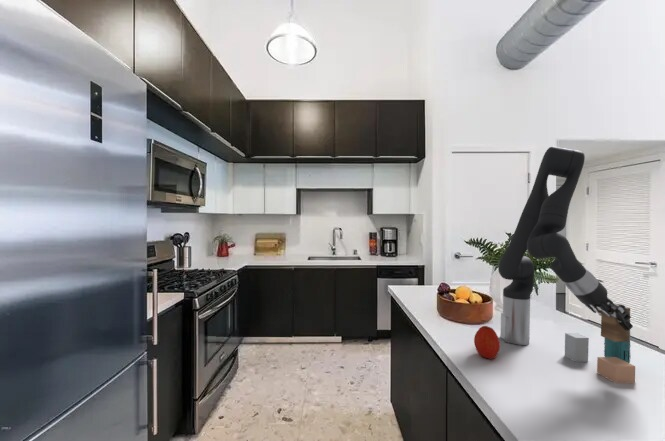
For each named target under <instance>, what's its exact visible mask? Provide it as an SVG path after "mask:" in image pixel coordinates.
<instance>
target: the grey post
mask: <svg viewBox="0 0 665 441" xmlns="http://www.w3.org/2000/svg"><path fill="white" fill-rule="evenodd" d="M589 340H590V339H589V337H588V336H586V335H583V334H581V333H580V332H565V333H564V357H566V358H568V359H569V360H572V361H573V362H579V363H582V362H589V342H590V341H589Z"/></svg>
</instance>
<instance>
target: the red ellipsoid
mask: <svg viewBox="0 0 665 441" xmlns="http://www.w3.org/2000/svg"><path fill="white" fill-rule="evenodd" d="M473 343H474V347H475V350H476V351H477V353H478V354H479V355H480V357H482V358H485V359H488V360H494V359H495V358H496V357H497V356H498V355H499V354H498V353H499V352H500V347H501V344H500V339H499V336H498V334H497V332H496V331H495V330H494V328H492V327H490V326H488V325H483V326H481V327H479V328H478V330H476V332H475V335H474V338H473Z"/></svg>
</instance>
